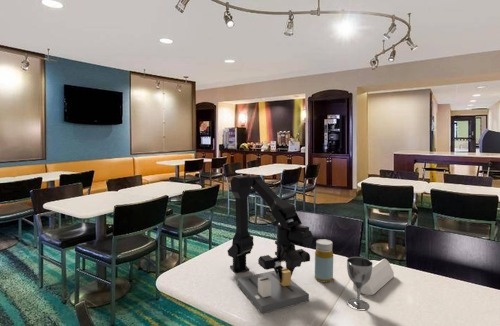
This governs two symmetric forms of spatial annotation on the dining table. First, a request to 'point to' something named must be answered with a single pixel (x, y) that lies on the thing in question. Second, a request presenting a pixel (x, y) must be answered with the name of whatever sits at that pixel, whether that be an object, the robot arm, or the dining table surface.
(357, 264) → the wine glass
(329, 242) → the bottle
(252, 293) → the console
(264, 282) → the fader
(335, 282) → the dining table surface
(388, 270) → the crystal
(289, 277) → the block
